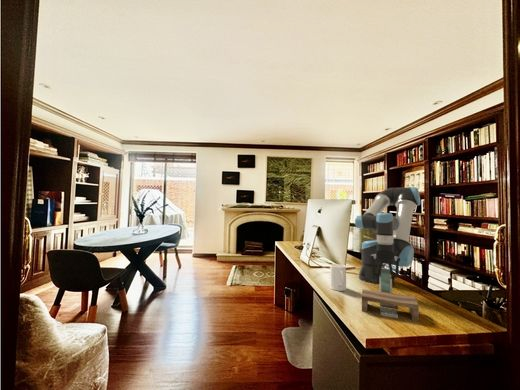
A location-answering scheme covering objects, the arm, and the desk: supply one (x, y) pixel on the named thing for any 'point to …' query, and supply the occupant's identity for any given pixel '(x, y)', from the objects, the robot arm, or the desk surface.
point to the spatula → (385, 284)
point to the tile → (388, 312)
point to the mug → (338, 277)
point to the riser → (391, 301)
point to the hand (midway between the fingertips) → (385, 290)
